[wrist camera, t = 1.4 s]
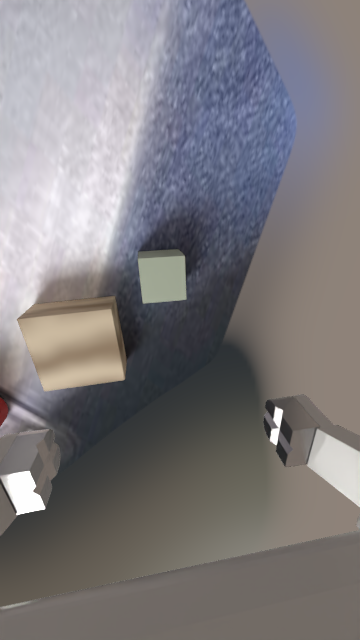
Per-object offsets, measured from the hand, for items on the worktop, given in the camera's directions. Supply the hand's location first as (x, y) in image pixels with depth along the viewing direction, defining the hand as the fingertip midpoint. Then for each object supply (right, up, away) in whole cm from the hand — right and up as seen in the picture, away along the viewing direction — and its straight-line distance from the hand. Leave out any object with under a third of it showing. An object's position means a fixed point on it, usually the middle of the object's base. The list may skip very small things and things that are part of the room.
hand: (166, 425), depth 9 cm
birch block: (-13, +2, +24) cm, 27 cm away
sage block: (-2, +10, +22) cm, 24 cm away
